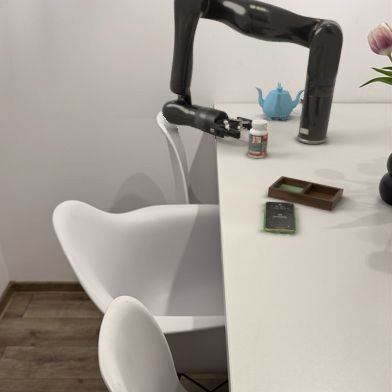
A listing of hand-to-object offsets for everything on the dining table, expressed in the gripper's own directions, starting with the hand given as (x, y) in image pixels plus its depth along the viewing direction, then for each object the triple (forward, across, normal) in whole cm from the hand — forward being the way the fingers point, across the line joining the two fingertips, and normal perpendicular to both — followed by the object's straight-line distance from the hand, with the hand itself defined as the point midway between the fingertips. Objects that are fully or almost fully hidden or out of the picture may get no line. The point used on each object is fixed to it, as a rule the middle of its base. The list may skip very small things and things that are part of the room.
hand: (248, 132), depth 149 cm
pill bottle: (+4, 0, +6) cm, 7 cm away
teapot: (-16, +36, +6) cm, 40 cm away
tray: (+33, -15, +6) cm, 37 cm away
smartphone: (+36, -30, +6) cm, 47 cm away
